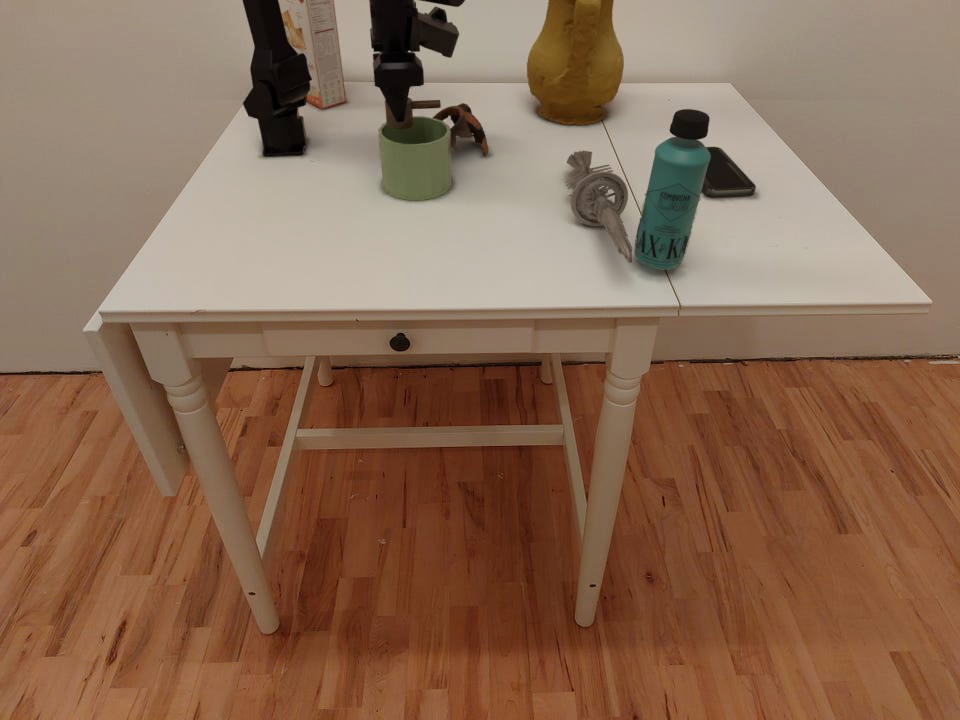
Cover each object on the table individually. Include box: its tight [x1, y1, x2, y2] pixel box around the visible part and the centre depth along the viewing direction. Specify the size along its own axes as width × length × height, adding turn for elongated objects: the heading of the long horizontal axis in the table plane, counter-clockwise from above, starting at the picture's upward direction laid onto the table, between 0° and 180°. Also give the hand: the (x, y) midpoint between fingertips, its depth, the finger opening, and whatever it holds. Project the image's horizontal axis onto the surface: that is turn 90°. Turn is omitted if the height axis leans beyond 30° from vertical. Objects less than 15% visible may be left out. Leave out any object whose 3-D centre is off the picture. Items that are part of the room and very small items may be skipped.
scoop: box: [384, 96, 442, 129], centre depth 95 cm, size 8×4×3 cm, turn 99°
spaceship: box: [564, 150, 633, 264], centre depth 91 cm, size 8×35×8 cm
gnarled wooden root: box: [432, 102, 489, 157], centre depth 110 cm, size 12×10×8 cm
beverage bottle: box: [633, 108, 711, 270], centre depth 80 cm, size 6×7×20 cm
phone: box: [701, 146, 757, 198], centre depth 106 cm, size 8×1×15 cm
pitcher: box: [526, 0, 625, 126], centre depth 116 cm, size 17×19×25 cm
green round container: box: [377, 115, 452, 201], centre depth 100 cm, size 10×10×8 cm
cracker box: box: [278, 0, 347, 110], centre depth 122 cm, size 14×6×21 cm, turn 43°
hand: (399, 116), depth 95 cm, fingers closed on scoop, 4 cm apart
